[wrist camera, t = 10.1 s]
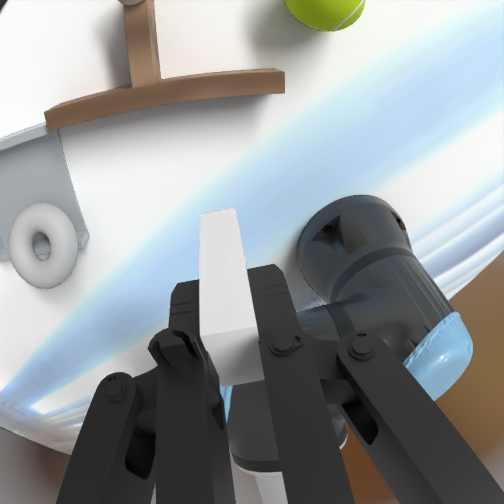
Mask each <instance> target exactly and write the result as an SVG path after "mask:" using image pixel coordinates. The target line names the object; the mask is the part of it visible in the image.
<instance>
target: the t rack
mask: <svg viewBox="0 0 504 504" xmlns="http://www.w3.org/2000/svg"><path fill="white" fill-rule="evenodd" d="M118 1H119V2H121V3H122V4H123V8H124V20H125V31H126V41H127V50H128V59H129V67H130V75H131V82H132V85H129V86H125V87H120V88H116V89H111V90H107V91H103V92H99V93H95V94H92V95H88V96H84V97H81V98H77V99H74V100H70V101H67V102H64V103H60V104H58V105H57V106H55V107H53V108H51V109H49V110H47V111H45V112H44V115H45V119H46V124H47V128H48V131H52V130H55V129H58V128H62V127H65V126H69V125H72V124H76V123H80V122H84V121H88V120H92V119H96V118H100V117H104V116H108V115H113V114H117V113H122V112H127V111H132V110H137V109H142V108H148V107H153V106H159V105H165V104H172V103H178V102H186V101H193V100H201V99H210V98H220V97H230V96H243V95H259V94H282V93H285V76H284V72H283V71H280V70H278V69H253V70H237V71H224V72H213V73H204V74H195V75H188V76H180V77H174V78H167V79H161V74H160V65H159V55H158V45H157V35H156V24H155V11H154V0H118Z"/></svg>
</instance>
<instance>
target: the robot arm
mask: <svg viewBox="0 0 504 504" xmlns="http://www.w3.org/2000/svg"><path fill="white" fill-rule="evenodd" d="M297 260H298V264H299V267H300V270H301V272H302V275H303V277H304V279H305V281H306V282H307V284H308V285H309V286H310V287H311V288H312V289H313V290H314V291H315V292H316V293H317V294H318V295H319V296H320V297H321V298H322V299H323V300H324V301H325V302H326V303H327V305H322V306H318V307H315V308H311V309H307V310H304V311H300V312H295V309H294V305H293V302H292V299H291V296H290V293H289V290H288V286H287V284H286V280H285V277H284V274H283V272H282V271H281V270H280V269H279V268H278V267H277V266H276V265H275V264H271V265H266V266H261V267H256V268H251V269H247V265H246V260H245V255H244V250H243V245H242V240H241V235H240V230H239V225H238V220H237V214H236V209H235V207H234V208H229V209H224V210H219V211H214V212H209V213H204V214H200V259H199V279H198V280H192V281H187V282H182V283H177V285H176V287H175V288H174V290H173V292H172V293H171V302H170V306H171V307H170V316H169V327H168V328H167V329H163V330H162V331H160V332H159V333H157V334H156V335H155V336H154V337H153V338H152V340H151V341H150V343H149V346H148V350H149V352H150V353H151V355H152V357H153V358H154V360H155V361H156V363H157V364H158V366H157V367H155V368H154V369H152V370H150V371H149V372H146V373H144V374H141V375H139V376H137V377H134V378H132V377H131V376H130V375H129V374H126V373H123V372H116V373H113V374H110V375H108V376H106V377H105V378H104V379H103V380H102V381H101V382H100V384H99V385H98V387H97V389H96V392H95V394H94V397H93V399H92V402H91V404H90V407H89V409H88V412H87V414H86V417H85V420H84V422H83V425H82V427H81V430H80V433H79V435H78V438H77V441H76V444H75V447H74V449H73V452H72V455H71V458H70V461H69V464H68V467H67V470H66V473H65V476H64V479H63V482H62V485H61V488H60V492H59V495H58V498H57V501H56V504H150V503H151V499H152V495H153V490H154V486H155V482H156V504H236V501H235V494H234V486H233V478H232V470H231V461H230V453H229V448H230V450H231V453H232V455H233V459H234V462H235V464H236V465H237V467H238V468H239V469H241V470H243V471H245V472H248V473H250V474H253V475H255V478H256V481H257V484H258V488H259V490H260V494H261V496H262V500H263V503H264V504H355V502H354V498H353V494H352V490H351V487H350V483H349V480H348V476H347V472H346V469H345V465H344V462H343V458H342V454H341V451H340V449H341V448H342V447H343V446H344V444H345V442H346V440H347V432H346V427H345V420H346V422H347V424H348V425H349V427H350V428H351V430H352V431H353V433H354V434H355V436H356V437H357V439H358V440H359V442H360V444H361V445H362V447H363V448H364V450H365V451H366V453H367V454H368V456H369V457H370V459H371V460H372V462H373V463H374V465H375V466H376V468H377V470H378V471H379V473H380V474H381V476H382V477H383V479H384V480H385V482H386V483H387V485H388V486H389V488H390V489H391V491H392V492H393V493H394V495H395V497H396V498H397V500H398V501H399V503H400V504H504V492H503V491H502V489H501V488H500V487H499V485H498V484H497V482H496V481H495V480H494V478H493V477H492V475H491V474H490V473H489V471H488V470H487V469H486V467H485V466H484V465H483V463H482V462H481V461H480V459H479V458H478V457H477V455H476V454H475V453H474V452H473V450H472V449H471V448H470V447H469V445H468V444H467V443H466V441H465V440H464V439H463V437H462V436H461V435H460V433H459V432H458V431H457V430H456V429H455V427H454V426H453V425H452V423H451V422H450V421H449V420H448V418H447V417H446V416H445V414H444V413H443V412H442V411H441V409H440V408H439V407H438V406H437V404H436V403H435V402H434V400H436V399H437V398H438V397H439V396H441V395H442V394H443V393H444V392H445V391H446V390H447V389H449V388H450V387H451V386H452V385H453V384H454V383H455V382H456V380H457V379H458V378H459V377H460V376H461V374H462V373H463V372H464V370H465V369H466V367H467V366H468V364H469V362H470V360H471V357H472V352H473V343H472V340H471V338H470V336H469V334H468V332H467V330H466V328H465V326H464V324H463V322H462V320H461V317H460V315H459V313H458V312H456V311H455V310H454V309H453V307H452V306H451V304H450V303H449V301H448V300H447V299H446V297H445V296H444V294H443V293H442V292H441V290H440V289H439V287H438V286H437V285H436V283H435V282H434V281H433V279H432V278H431V277H430V275H429V274H428V273H427V271H426V270H425V269H424V267H423V266H422V265H421V263H420V262H419V261H418V260H417V258H416V257H415V256H414V254H413V251H412V248H411V244H410V241H409V238H408V234H407V231H406V228H405V225H404V223H403V221H402V219H401V217H400V216H399V215H398V213H397V212H396V211H395V210H394V209H393V208H392V207H391V206H390V205H389V204H388V203H387V202H385V201H384V200H382V199H380V198H378V197H374V196H370V195H354V196H349V197H345V198H342V199H339V200H337V201H335V202H333V203H331V204H329V205H328V206H326V207H325V208H323V209H322V210H321V211H319V212H318V213H317V214H316V215H315V216H314V217H313V218H312V219H311V220H310V222H309V223H308V224H307V226H306V227H305V229H304V231H303V232H302V234H301V237H300V239H299V243H298V247H297Z"/></svg>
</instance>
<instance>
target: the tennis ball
mask: <svg viewBox="0 0 504 504" xmlns="http://www.w3.org/2000/svg"><path fill="white" fill-rule="evenodd" d="M285 2H286V5H287V7H288V9H289V11H290V12H291V13H292V15H293V16H294V17H295V18H296V19H297V20H298V21H300V22H301V23H303V24H304V25H306V26H308V27H310V28H313V29H316V30H320V31H338V30H341V29H344V28H346V27H348V26H350V25H351V24H353V23H354V22H355V21H356V20H357V19H358V18H359V17H360V15H361V13H362V11H363V9H364V5H365V0H286V1H285Z"/></svg>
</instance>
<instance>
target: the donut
mask: <svg viewBox="0 0 504 504" xmlns="http://www.w3.org/2000/svg"><path fill="white" fill-rule="evenodd" d="M38 232H43V233H44V234H46V235H47V237H48V238H49V241H50V244H51V253H50V256H49V258H48V259H46V260H41V259H39V258H38V257H37V255H36V254H35V252H34V248H33V239H34V236H35V235H36V234H37V233H38ZM8 244H9V254H10V257H11V261H12V264H13V266H14V268H15V269H16V271H17V273H18V274H19V276H20V277H21V278H23V279H24V280H25V281H26V282H27V283H28V284H31V285H33V286H35V287H37V288H47V289H49V288H53V287H55V286H58V285H60V284H62V283H63V282H64V281H65V280H66V279H67V278H68V277H69V276H70V275H71V273H72V271H73V269H74V267H75V265H76V261H77V255H78V240H77V235H76V232H75V229H74V226H73V224H72V222H71V221H70V219H69V218H68V216H67V215H66V214H65V213H64V212H63V211H62V210H60V209H59V208H58V207H57V206H54V205H51V204H48V203H34V204H32V205H30V206H28V207H26V208H25V209H23V210H22V211H21V212H20V213H19V215H18V216H17V217H16V218H15V220H14V222H13V224H12V227H11V229H10V234H9V241H8Z"/></svg>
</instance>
